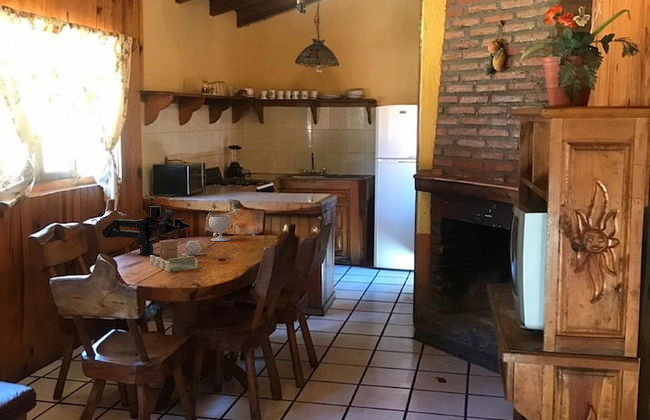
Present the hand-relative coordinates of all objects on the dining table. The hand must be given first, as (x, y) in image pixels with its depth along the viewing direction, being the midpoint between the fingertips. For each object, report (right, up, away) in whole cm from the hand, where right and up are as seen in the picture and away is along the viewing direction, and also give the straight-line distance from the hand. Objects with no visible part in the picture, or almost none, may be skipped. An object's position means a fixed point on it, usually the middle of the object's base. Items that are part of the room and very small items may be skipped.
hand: (184, 227), depth 355 cm
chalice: (+10, -10, +57) cm, 59 cm away
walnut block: (-5, -15, -15) cm, 22 cm away
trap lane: (-2, -19, -19) cm, 27 cm away
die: (+3, -16, +10) cm, 19 cm away
